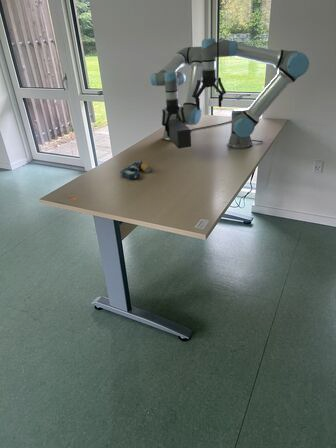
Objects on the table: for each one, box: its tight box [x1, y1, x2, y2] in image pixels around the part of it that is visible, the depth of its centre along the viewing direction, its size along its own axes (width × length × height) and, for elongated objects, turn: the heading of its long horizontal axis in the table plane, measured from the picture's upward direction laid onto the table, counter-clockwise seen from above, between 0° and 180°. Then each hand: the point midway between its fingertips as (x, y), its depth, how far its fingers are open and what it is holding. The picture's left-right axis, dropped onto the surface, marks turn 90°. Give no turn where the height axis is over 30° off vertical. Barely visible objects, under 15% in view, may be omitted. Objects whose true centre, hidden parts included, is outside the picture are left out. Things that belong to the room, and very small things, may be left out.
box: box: [168, 119, 192, 149], centre depth 209 cm, size 28×8×10 cm, turn 14°
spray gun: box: [119, 160, 152, 180], centre depth 195 cm, size 21×4×15 cm
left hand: (174, 134), depth 219 cm, fingers closed on box, 8 cm apart
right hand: (209, 108), depth 201 cm, fingers open, 13 cm apart
